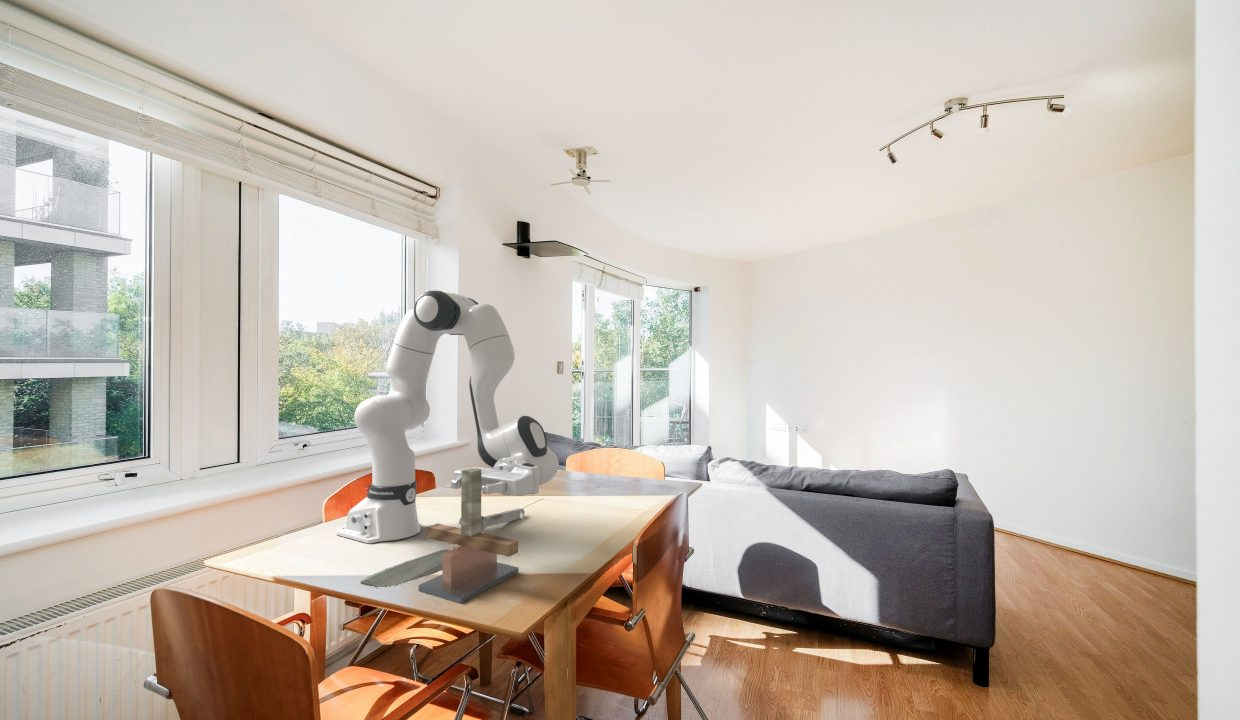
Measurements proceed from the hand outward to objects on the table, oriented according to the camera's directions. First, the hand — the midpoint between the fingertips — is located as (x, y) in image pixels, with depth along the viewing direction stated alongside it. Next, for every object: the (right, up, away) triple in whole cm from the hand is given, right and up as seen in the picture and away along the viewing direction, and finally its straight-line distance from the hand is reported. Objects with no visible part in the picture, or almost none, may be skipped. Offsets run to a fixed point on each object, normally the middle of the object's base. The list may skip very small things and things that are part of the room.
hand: (468, 487), depth 118 cm
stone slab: (-14, -22, +7) cm, 27 cm away
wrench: (-3, -21, +37) cm, 43 cm away
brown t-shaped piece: (0, -13, +1) cm, 13 cm away
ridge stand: (0, -21, +1) cm, 21 cm away
